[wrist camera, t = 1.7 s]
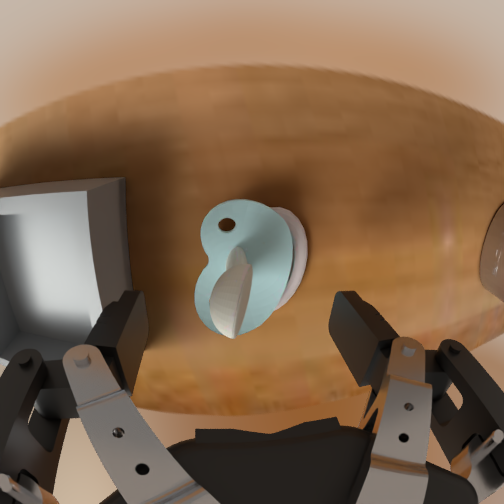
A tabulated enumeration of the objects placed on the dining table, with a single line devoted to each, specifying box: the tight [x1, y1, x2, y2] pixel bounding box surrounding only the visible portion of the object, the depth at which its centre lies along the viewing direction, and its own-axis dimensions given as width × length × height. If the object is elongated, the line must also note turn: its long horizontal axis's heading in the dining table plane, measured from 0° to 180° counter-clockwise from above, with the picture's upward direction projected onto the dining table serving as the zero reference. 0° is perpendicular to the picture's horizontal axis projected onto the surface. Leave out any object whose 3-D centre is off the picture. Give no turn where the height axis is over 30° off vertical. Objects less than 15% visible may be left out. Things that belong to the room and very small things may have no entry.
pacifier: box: [195, 199, 308, 339], centre depth 13 cm, size 7×6×6 cm
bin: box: [0, 177, 133, 398], centre depth 12 cm, size 12×12×4 cm
